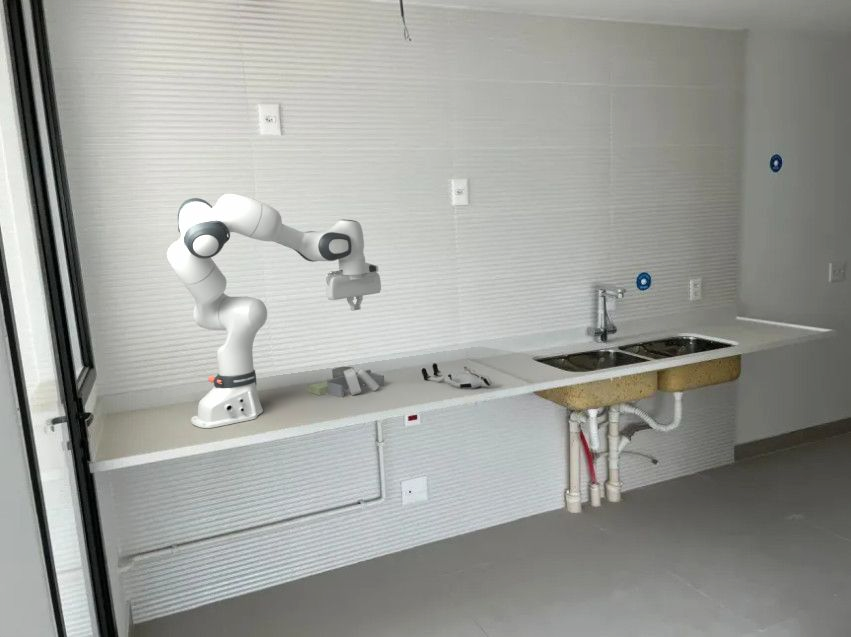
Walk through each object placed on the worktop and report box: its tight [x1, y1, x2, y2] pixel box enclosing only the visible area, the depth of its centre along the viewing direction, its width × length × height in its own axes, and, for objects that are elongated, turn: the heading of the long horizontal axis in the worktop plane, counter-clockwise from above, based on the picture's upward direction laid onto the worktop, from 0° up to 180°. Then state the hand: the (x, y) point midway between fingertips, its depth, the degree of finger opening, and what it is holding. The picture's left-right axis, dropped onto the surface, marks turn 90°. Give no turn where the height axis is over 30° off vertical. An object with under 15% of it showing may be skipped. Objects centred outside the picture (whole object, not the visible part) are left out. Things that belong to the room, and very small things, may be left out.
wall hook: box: [343, 367, 380, 396], centre depth 224 cm, size 8×10×10 cm
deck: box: [308, 366, 385, 398], centre depth 230 cm, size 26×16×6 cm, turn 131°
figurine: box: [421, 362, 492, 390], centre depth 228 cm, size 13×6×30 cm
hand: (355, 310), depth 209 cm, fingers closed
